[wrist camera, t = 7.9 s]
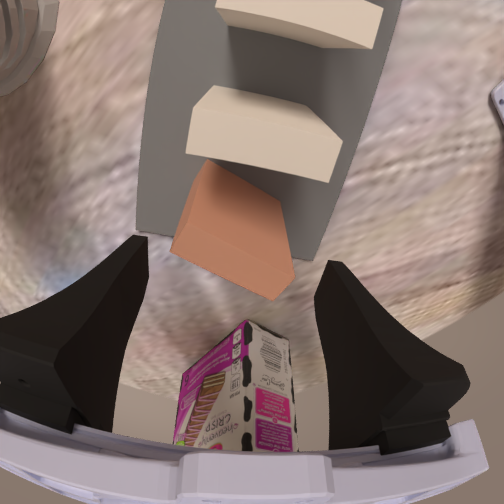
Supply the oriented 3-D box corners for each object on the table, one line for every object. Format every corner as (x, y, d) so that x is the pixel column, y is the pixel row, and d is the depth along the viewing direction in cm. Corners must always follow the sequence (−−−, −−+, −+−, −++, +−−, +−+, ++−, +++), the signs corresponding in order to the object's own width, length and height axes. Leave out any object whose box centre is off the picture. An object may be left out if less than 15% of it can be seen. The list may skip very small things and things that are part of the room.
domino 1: (234, -2, 12) (226, -37, 6) (330, 22, 13) (383, 8, 7) (227, 25, 13) (215, 7, 7) (323, 48, 14) (372, 49, 8)
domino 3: (207, 158, 17) (187, 221, 12) (280, 201, 19) (295, 277, 13) (193, 181, 18) (169, 251, 12) (264, 220, 20) (272, 301, 14)
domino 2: (213, 85, 15) (193, 107, 9) (306, 105, 16) (343, 141, 10) (208, 113, 16) (185, 153, 10) (298, 132, 17) (328, 182, 11)
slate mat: (228, -162, 4) (228, -164, 4) (421, -107, 6) (424, -109, 6) (137, 226, 20) (135, 230, 20) (311, 257, 22) (312, 260, 22)
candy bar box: (243, 314, 25) (245, 528, 12) (290, 337, 27) (310, 527, 14) (178, 372, 30) (161, 528, 17) (219, 388, 32) (214, 534, 19)
